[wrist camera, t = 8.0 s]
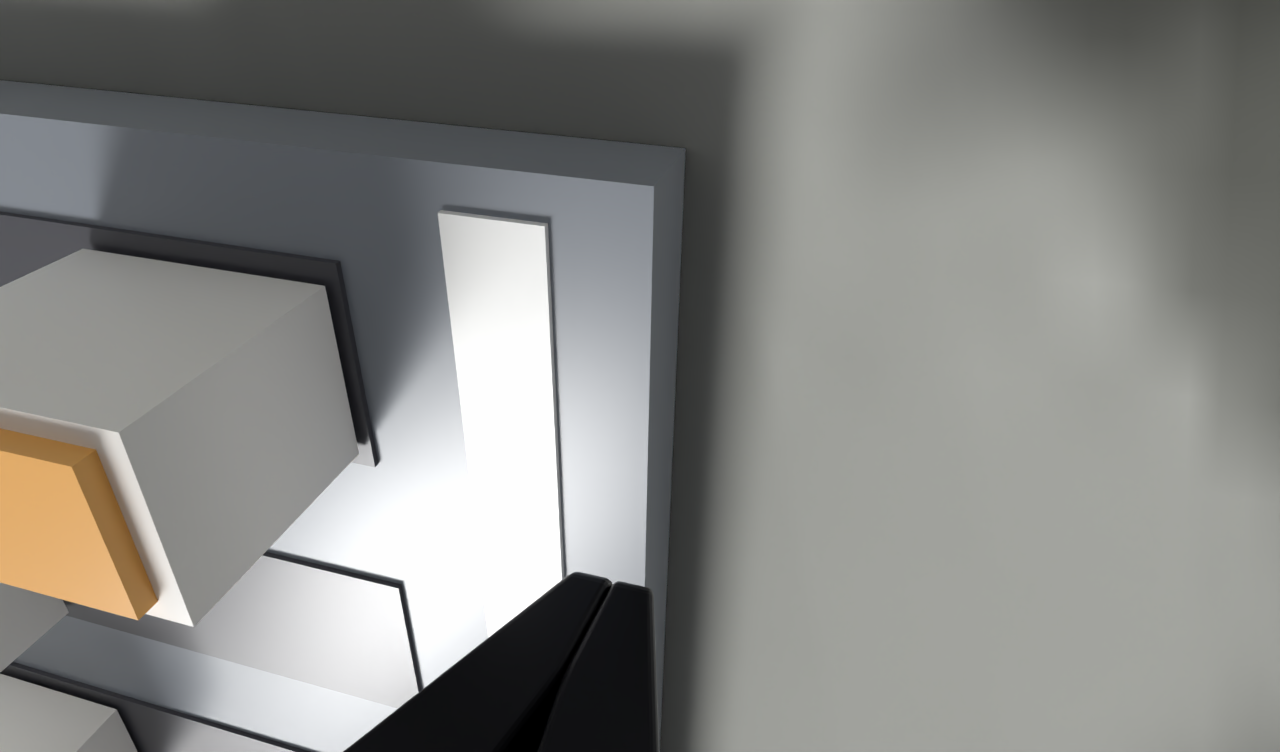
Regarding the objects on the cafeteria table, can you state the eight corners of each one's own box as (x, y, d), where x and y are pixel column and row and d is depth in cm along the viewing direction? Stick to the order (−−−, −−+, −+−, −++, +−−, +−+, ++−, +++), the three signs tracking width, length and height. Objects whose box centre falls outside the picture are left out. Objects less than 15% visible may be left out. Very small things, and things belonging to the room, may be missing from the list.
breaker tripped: (324, 286, 11) (94, 449, 8) (359, 454, 13) (175, 646, 10) (83, 248, 12) (-208, 382, 9) (141, 409, 14) (-92, 571, 11)
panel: (685, 147, 11) (651, 189, 9) (653, 902, 20) (634, 973, 19) (-425, 37, 15) (-549, 54, 14) (-22, 689, 25) (-74, 734, 24)
